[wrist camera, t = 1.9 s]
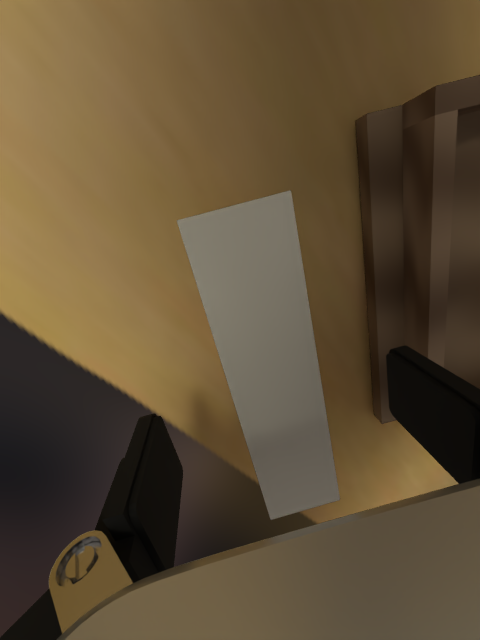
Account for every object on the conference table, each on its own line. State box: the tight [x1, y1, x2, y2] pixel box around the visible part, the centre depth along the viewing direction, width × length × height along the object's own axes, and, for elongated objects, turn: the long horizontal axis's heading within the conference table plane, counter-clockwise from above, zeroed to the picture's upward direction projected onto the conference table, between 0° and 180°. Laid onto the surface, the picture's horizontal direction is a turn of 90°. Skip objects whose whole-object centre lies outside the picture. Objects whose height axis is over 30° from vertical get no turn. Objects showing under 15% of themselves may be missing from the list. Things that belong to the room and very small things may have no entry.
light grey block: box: [177, 190, 340, 520], centre depth 14 cm, size 14×4×7 cm, turn 14°
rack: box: [356, 75, 480, 424], centre depth 16 cm, size 19×11×3 cm, turn 14°
